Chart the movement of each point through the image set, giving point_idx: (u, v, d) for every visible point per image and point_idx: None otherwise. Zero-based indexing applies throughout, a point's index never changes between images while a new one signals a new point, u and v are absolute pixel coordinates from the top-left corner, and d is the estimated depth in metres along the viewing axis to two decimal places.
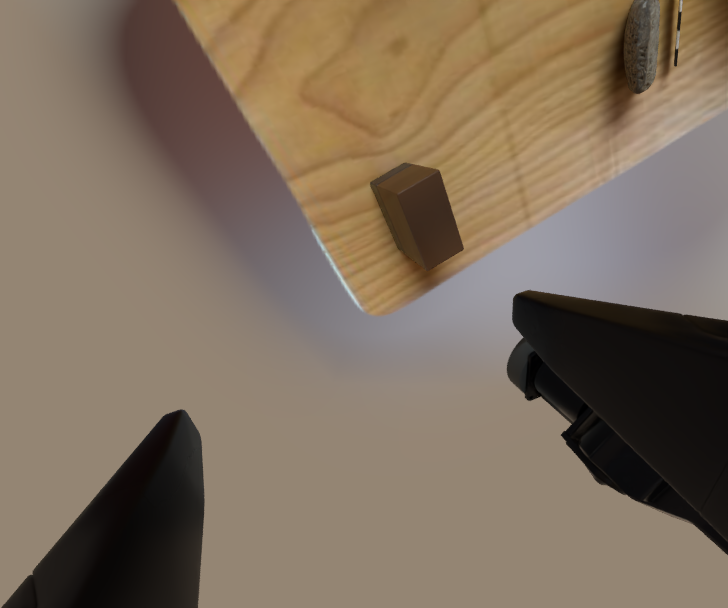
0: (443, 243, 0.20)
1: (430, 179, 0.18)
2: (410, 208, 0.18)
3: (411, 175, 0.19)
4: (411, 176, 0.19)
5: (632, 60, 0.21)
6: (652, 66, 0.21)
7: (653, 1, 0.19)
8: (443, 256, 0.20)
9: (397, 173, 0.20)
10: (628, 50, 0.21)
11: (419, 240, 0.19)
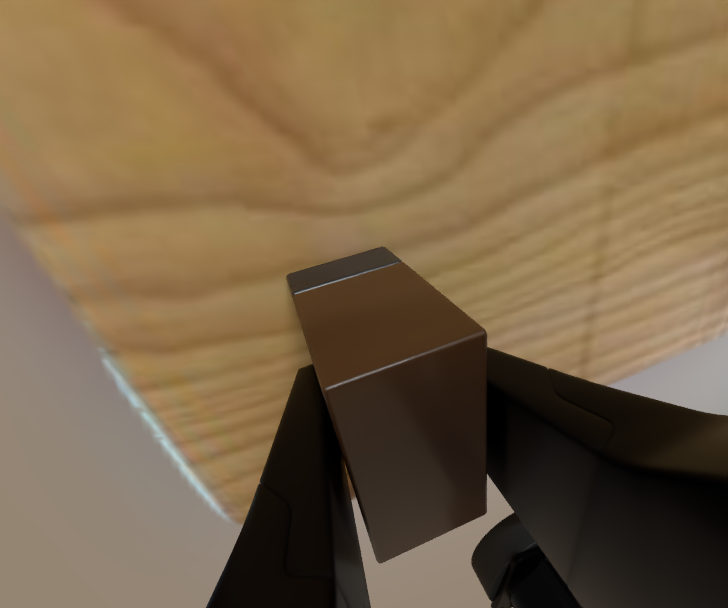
0: (441, 507, 0.07)
1: (451, 355, 0.05)
2: (364, 431, 0.05)
3: (391, 307, 0.06)
4: (390, 310, 0.06)
5: None
6: None
7: None
8: (432, 532, 0.07)
9: (357, 276, 0.08)
10: None
11: (371, 506, 0.06)
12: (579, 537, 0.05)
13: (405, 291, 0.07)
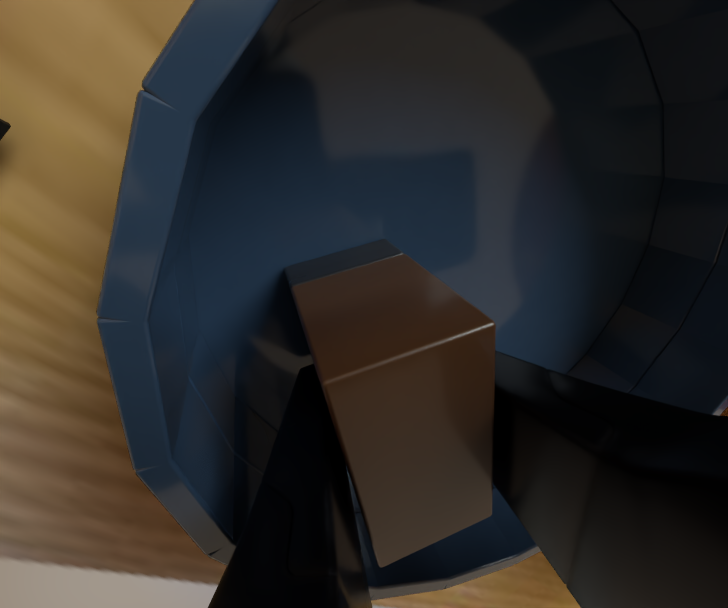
0: (445, 508, 0.07)
1: (458, 348, 0.05)
2: (365, 428, 0.05)
3: (394, 299, 0.06)
4: (393, 301, 0.06)
5: None
6: None
7: None
8: (436, 535, 0.07)
9: (357, 267, 0.07)
10: None
11: (373, 507, 0.06)
12: (579, 538, 0.05)
13: (408, 282, 0.06)
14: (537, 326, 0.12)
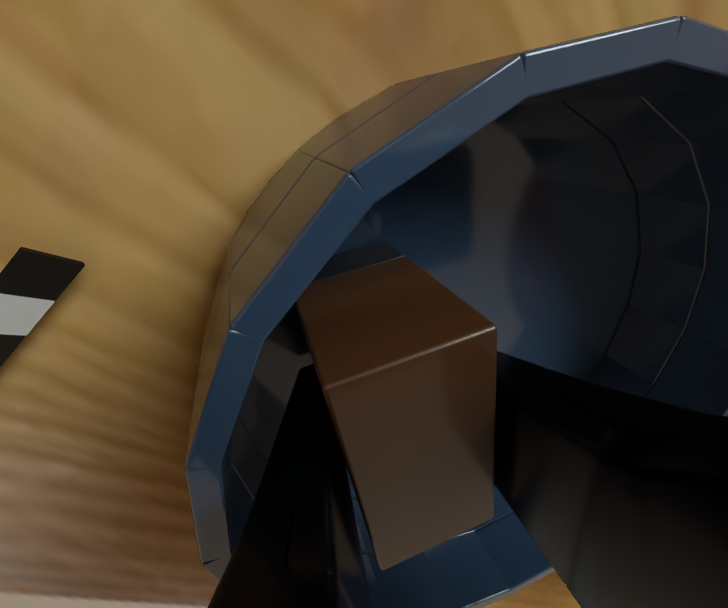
0: (447, 511, 0.07)
1: (459, 352, 0.05)
2: (366, 432, 0.05)
3: (395, 302, 0.06)
4: (393, 305, 0.06)
5: None
6: None
7: None
8: (437, 537, 0.07)
9: (358, 270, 0.07)
10: None
11: (374, 510, 0.06)
12: (579, 537, 0.05)
13: (409, 285, 0.06)
14: None
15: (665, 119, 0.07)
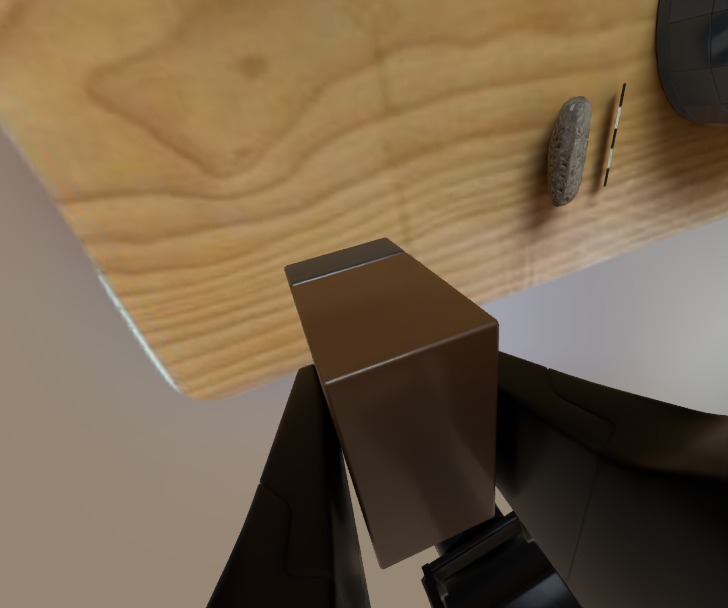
0: (447, 509, 0.07)
1: (461, 348, 0.05)
2: (367, 429, 0.05)
3: (395, 298, 0.06)
4: (394, 300, 0.06)
5: (553, 167, 0.17)
6: (574, 180, 0.17)
7: (582, 106, 0.16)
8: (437, 536, 0.07)
9: (358, 266, 0.07)
10: (550, 154, 0.18)
11: (375, 508, 0.06)
12: (580, 537, 0.05)
13: (410, 281, 0.06)
14: None
15: None
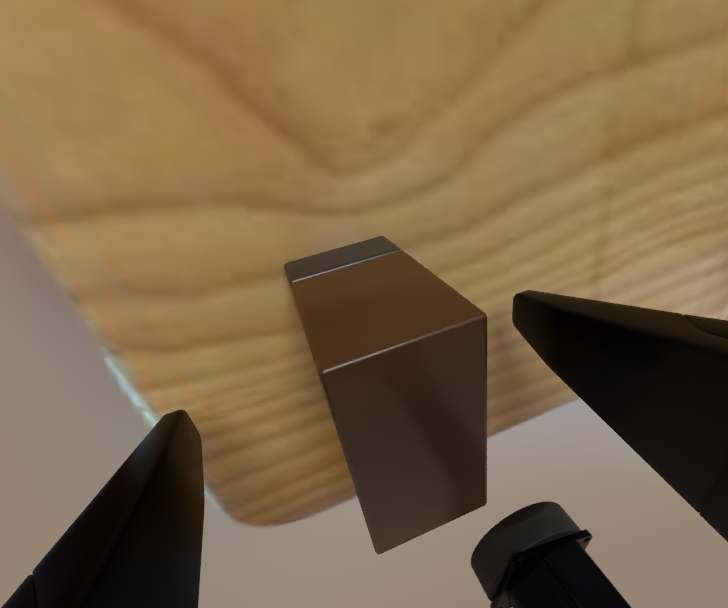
0: (440, 496, 0.07)
1: (451, 339, 0.05)
2: (362, 416, 0.05)
3: (390, 293, 0.06)
4: (389, 295, 0.06)
5: None
6: None
7: None
8: (431, 522, 0.07)
9: (355, 264, 0.07)
10: None
11: (370, 494, 0.06)
12: None
13: (404, 277, 0.07)
14: None
15: None
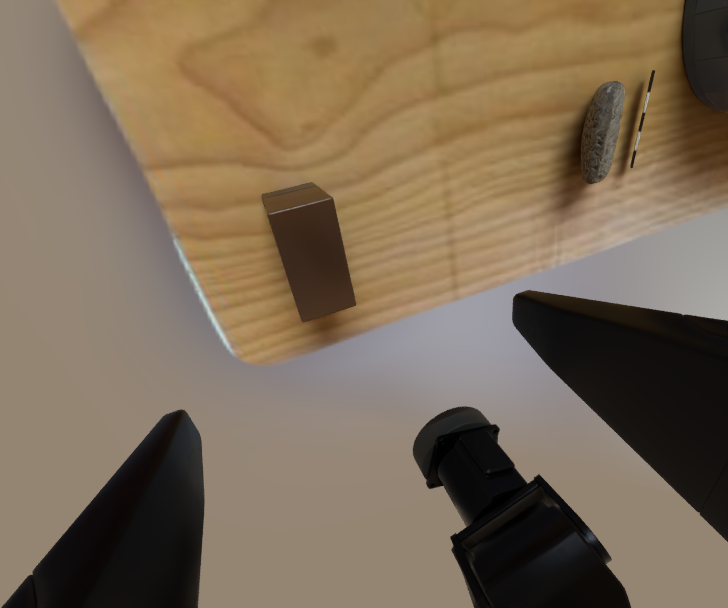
0: (329, 292, 0.15)
1: (318, 206, 0.14)
2: (285, 237, 0.14)
3: (302, 196, 0.15)
4: (301, 197, 0.14)
5: (588, 146, 0.19)
6: (607, 158, 0.19)
7: (618, 88, 0.17)
8: (327, 308, 0.16)
9: (293, 191, 0.16)
10: (585, 135, 0.19)
11: (294, 281, 0.15)
12: None
13: (311, 192, 0.15)
14: None
15: None
